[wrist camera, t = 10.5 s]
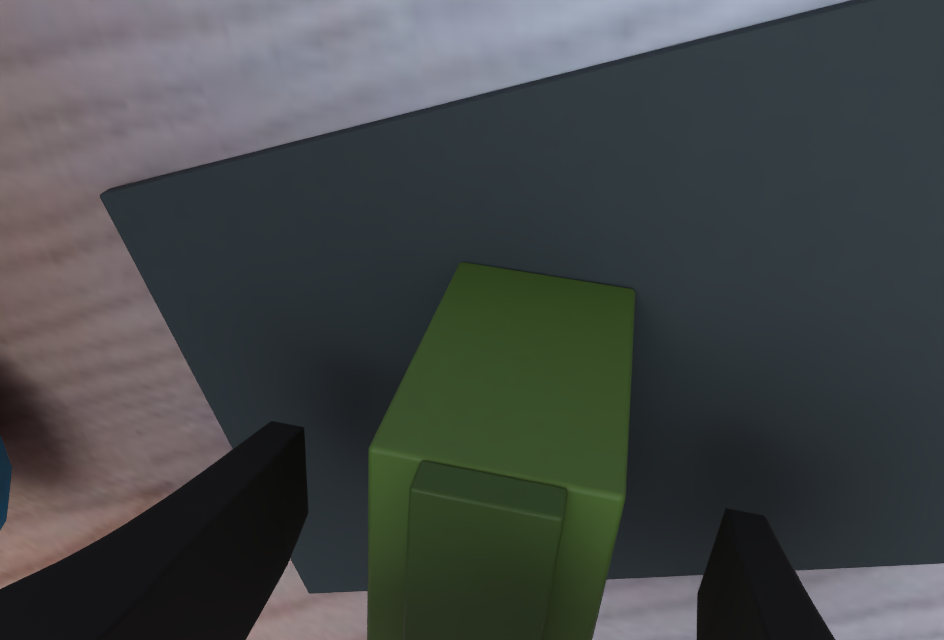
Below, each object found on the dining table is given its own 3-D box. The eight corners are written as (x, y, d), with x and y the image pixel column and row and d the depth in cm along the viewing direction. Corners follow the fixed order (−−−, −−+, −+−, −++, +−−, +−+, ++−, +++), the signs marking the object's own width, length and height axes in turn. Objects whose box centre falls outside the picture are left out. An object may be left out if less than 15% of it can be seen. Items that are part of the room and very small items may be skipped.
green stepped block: (595, 481, 18) (569, 761, 12) (445, 451, 18) (353, 708, 13) (636, 287, 15) (624, 532, 10) (459, 259, 16) (352, 477, 10)
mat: (953, 549, 17) (960, 563, 17) (314, 583, 22) (308, 594, 22) (944, -24, 12) (954, -21, 12) (109, 188, 17) (97, 195, 16)
